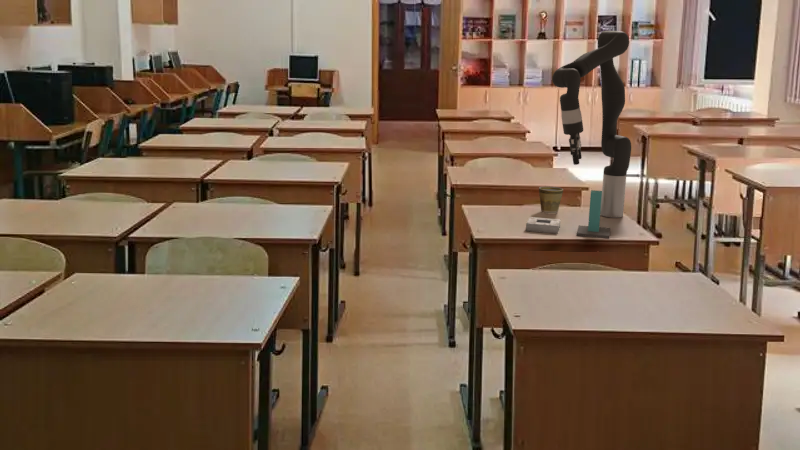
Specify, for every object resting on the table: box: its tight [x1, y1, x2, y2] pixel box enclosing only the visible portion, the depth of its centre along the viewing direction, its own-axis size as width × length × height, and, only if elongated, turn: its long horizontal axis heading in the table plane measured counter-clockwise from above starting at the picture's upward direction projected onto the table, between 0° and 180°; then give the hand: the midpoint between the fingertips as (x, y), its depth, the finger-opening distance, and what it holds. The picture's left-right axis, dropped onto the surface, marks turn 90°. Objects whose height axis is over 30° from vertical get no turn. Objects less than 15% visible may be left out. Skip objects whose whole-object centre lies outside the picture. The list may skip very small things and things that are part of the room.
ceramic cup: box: [538, 185, 564, 214], centre depth 390 cm, size 13×10×10 cm
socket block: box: [525, 216, 562, 234], centre depth 358 cm, size 12×12×3 cm
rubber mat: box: [576, 225, 611, 239], centre depth 354 cm, size 14×12×1 cm
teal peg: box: [587, 189, 602, 232], centre depth 352 cm, size 4×4×15 cm
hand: (577, 161), depth 360 cm, fingers open, 8 cm apart
